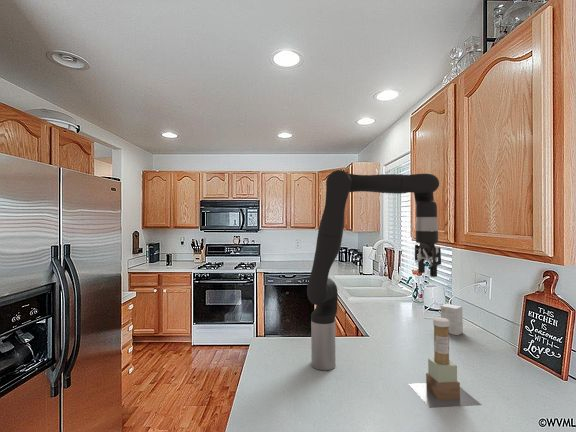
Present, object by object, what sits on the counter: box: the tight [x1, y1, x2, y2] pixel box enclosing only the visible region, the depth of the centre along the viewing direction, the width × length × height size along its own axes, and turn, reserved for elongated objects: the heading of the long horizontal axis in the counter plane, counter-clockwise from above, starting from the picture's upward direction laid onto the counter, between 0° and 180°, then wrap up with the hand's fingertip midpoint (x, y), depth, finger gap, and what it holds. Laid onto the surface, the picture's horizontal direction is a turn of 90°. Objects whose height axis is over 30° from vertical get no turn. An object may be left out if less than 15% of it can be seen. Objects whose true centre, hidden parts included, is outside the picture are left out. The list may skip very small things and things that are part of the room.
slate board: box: [408, 382, 482, 409], centre depth 103 cm, size 14×16×1 cm
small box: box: [440, 303, 464, 336], centre depth 163 cm, size 8×6×13 cm
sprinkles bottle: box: [432, 316, 451, 364], centre depth 103 cm, size 5×5×14 cm
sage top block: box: [427, 357, 458, 383], centre depth 103 cm, size 6×6×5 cm
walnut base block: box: [425, 372, 461, 400], centre depth 103 cm, size 7×7×5 cm
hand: (427, 274), depth 118 cm, fingers open, 8 cm apart
